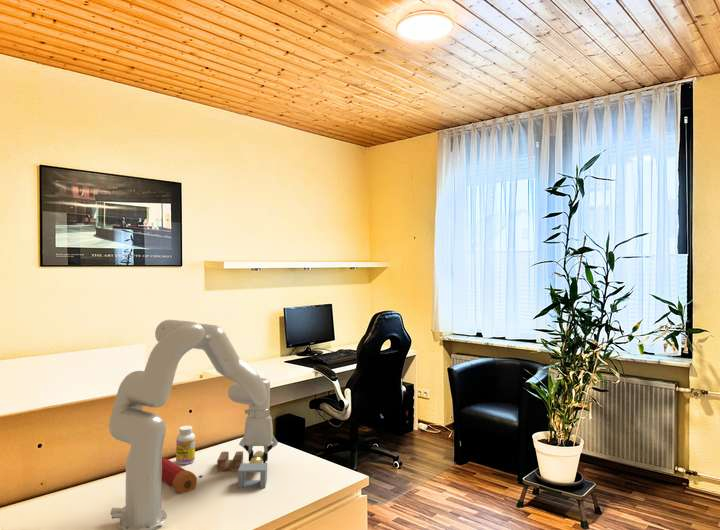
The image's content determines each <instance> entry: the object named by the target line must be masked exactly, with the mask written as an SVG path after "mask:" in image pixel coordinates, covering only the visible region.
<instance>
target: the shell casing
mask: <svg viewBox="0 0 720 530" xmlns="http://www.w3.org/2000/svg"><path fill="white" fill-rule="evenodd" d="M197 480H198V478H197V476H196V475H195V473H194V472H192V471H189V470H187V469H185V468H183V467H182V466H179V464H177V463H175V462H173V461H172V460H170V459H168V458H165V457H162V482H163V483H165V484H166V485H168V486H169V487H171V488H172V489H173V490H174V491H175V492H176V493H178V494H180V495H182V494H184V493H188V492H191V491H194V490H195V489H196V488H197V484H198V481H197Z"/></svg>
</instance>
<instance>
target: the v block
mask: <svg viewBox="0 0 720 530" xmlns="http://www.w3.org/2000/svg"><path fill="white" fill-rule="evenodd" d="M229 455H230V453H229V451H221V452H220V455H219V457H218V458H217V460H216V464H217V465H216V467H217V468H216V470H217V472H220V473H221V472H238V470H239V467H240V465H241V463H244V451H241V450H240V451H236V452H235V453H234V456H233V457H232V458H233V459H230V458H229ZM217 472H216V473H217Z"/></svg>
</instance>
